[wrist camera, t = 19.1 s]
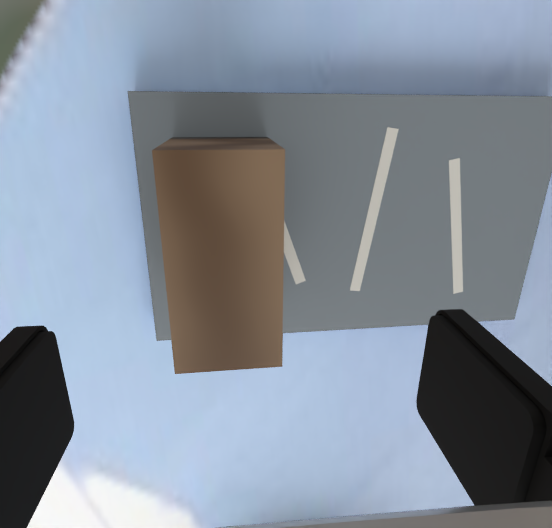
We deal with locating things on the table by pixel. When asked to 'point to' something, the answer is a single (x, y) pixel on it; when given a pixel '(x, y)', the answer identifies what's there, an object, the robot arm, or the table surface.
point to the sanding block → (222, 250)
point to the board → (376, 198)
